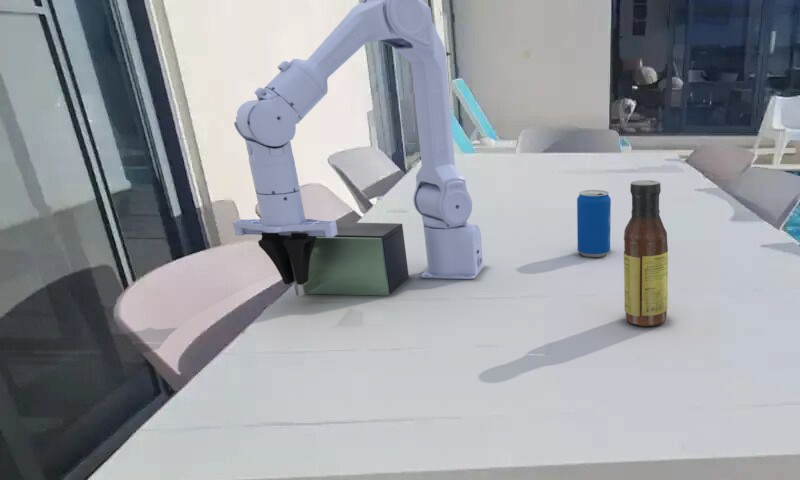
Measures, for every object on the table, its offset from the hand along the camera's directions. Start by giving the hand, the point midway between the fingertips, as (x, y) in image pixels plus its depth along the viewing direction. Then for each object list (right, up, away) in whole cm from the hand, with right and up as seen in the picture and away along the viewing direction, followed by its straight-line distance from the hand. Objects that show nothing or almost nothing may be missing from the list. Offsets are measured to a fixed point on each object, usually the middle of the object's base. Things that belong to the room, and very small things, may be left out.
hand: (296, 282), depth 96 cm
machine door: (+5, -2, +4) cm, 7 cm away
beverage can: (+45, +9, +30) cm, 55 cm away
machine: (+5, +1, +12) cm, 13 cm away
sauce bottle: (+53, -6, -3) cm, 53 cm away
